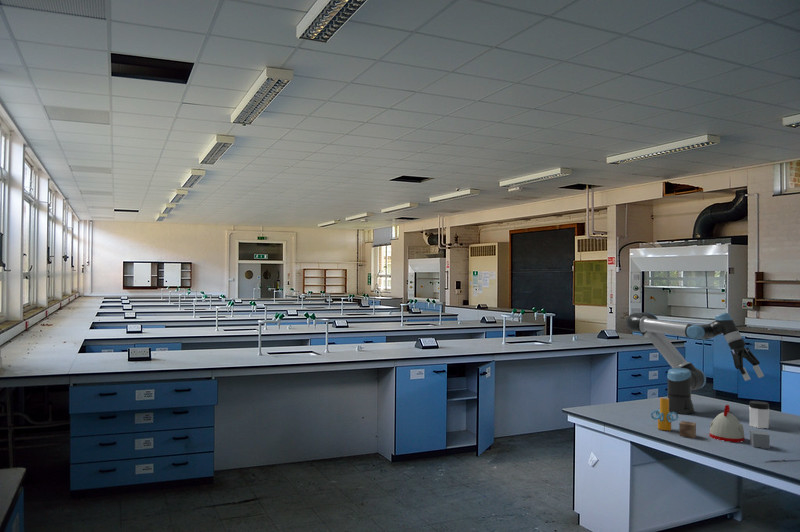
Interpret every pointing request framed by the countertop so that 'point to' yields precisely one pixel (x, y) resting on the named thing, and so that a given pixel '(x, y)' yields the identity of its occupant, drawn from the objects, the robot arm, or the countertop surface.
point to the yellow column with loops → (664, 415)
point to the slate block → (759, 439)
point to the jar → (759, 414)
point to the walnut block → (687, 429)
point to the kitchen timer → (727, 427)
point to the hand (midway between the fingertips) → (754, 378)
